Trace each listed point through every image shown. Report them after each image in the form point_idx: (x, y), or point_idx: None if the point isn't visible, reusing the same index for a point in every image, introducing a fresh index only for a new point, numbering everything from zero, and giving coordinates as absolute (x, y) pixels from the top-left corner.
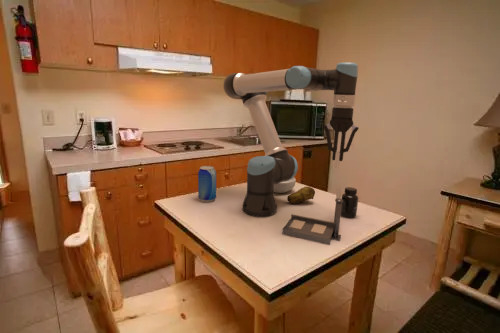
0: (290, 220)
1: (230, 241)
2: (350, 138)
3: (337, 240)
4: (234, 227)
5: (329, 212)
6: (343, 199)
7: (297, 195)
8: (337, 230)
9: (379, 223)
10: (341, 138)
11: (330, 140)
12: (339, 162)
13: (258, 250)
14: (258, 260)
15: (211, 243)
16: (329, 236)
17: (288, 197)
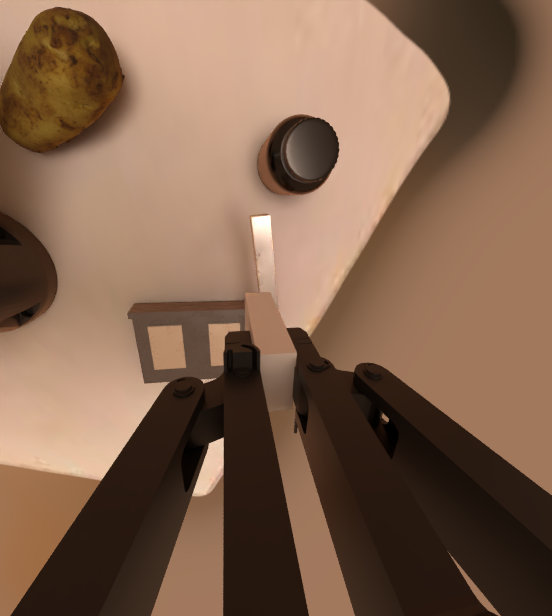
0: (138, 332)
1: (68, 447)
2: (488, 576)
3: None
4: (22, 401)
5: (221, 167)
6: (275, 184)
7: (51, 135)
8: None
9: (373, 192)
10: (352, 590)
11: (166, 549)
12: (277, 309)
13: None
14: None
15: (41, 468)
16: None
17: (14, 141)
